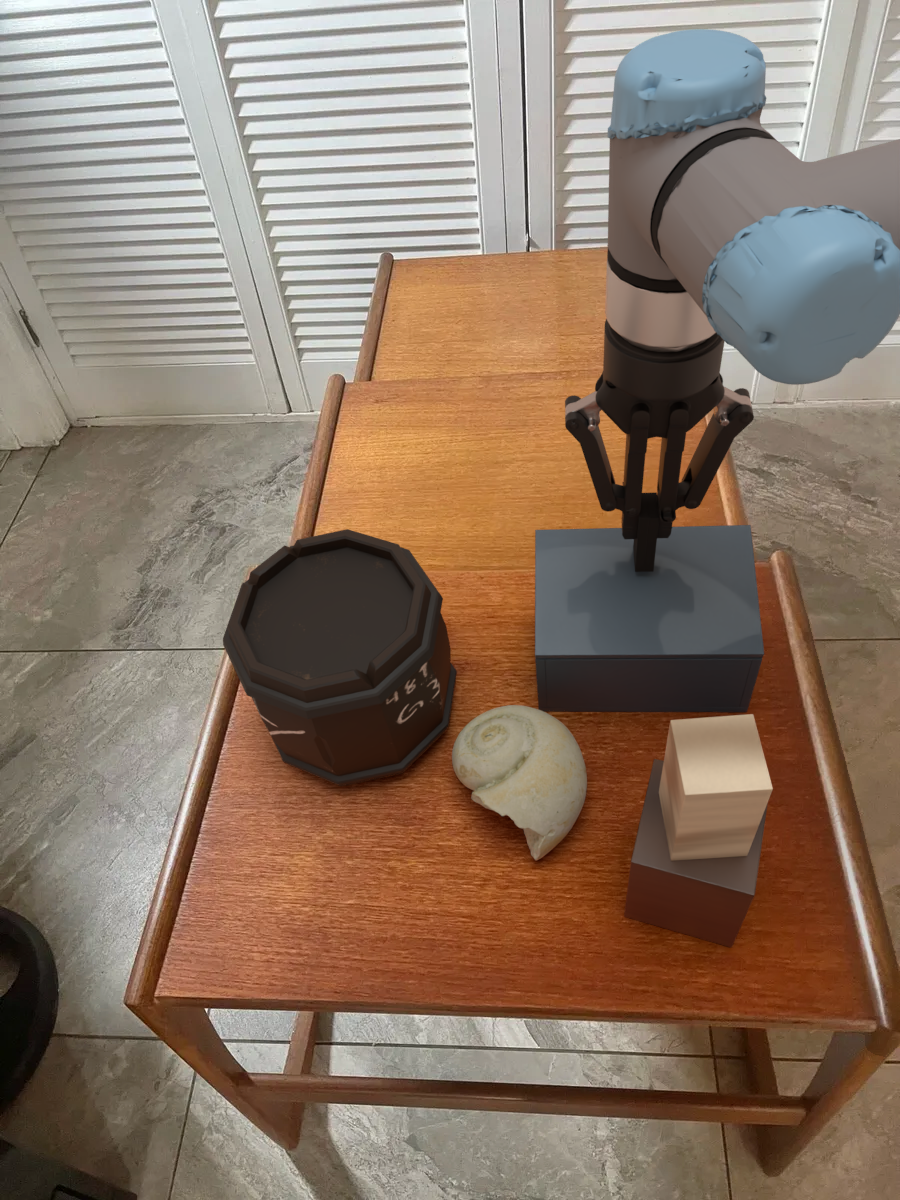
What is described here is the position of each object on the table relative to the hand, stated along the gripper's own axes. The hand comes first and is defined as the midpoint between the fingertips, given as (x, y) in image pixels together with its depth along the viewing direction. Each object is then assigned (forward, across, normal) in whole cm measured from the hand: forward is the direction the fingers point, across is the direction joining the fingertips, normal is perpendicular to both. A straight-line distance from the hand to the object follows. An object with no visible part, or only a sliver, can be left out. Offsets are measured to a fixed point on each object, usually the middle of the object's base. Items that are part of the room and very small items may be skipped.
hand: (643, 558), depth 75 cm
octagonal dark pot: (+12, +25, +7) cm, 29 cm away
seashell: (+12, +10, +16) cm, 22 cm away
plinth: (+12, -3, +23) cm, 26 cm away
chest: (+12, 0, +2) cm, 12 cm away
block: (+1, -3, +23) cm, 23 cm away
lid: (+2, 0, +2) cm, 3 cm away
